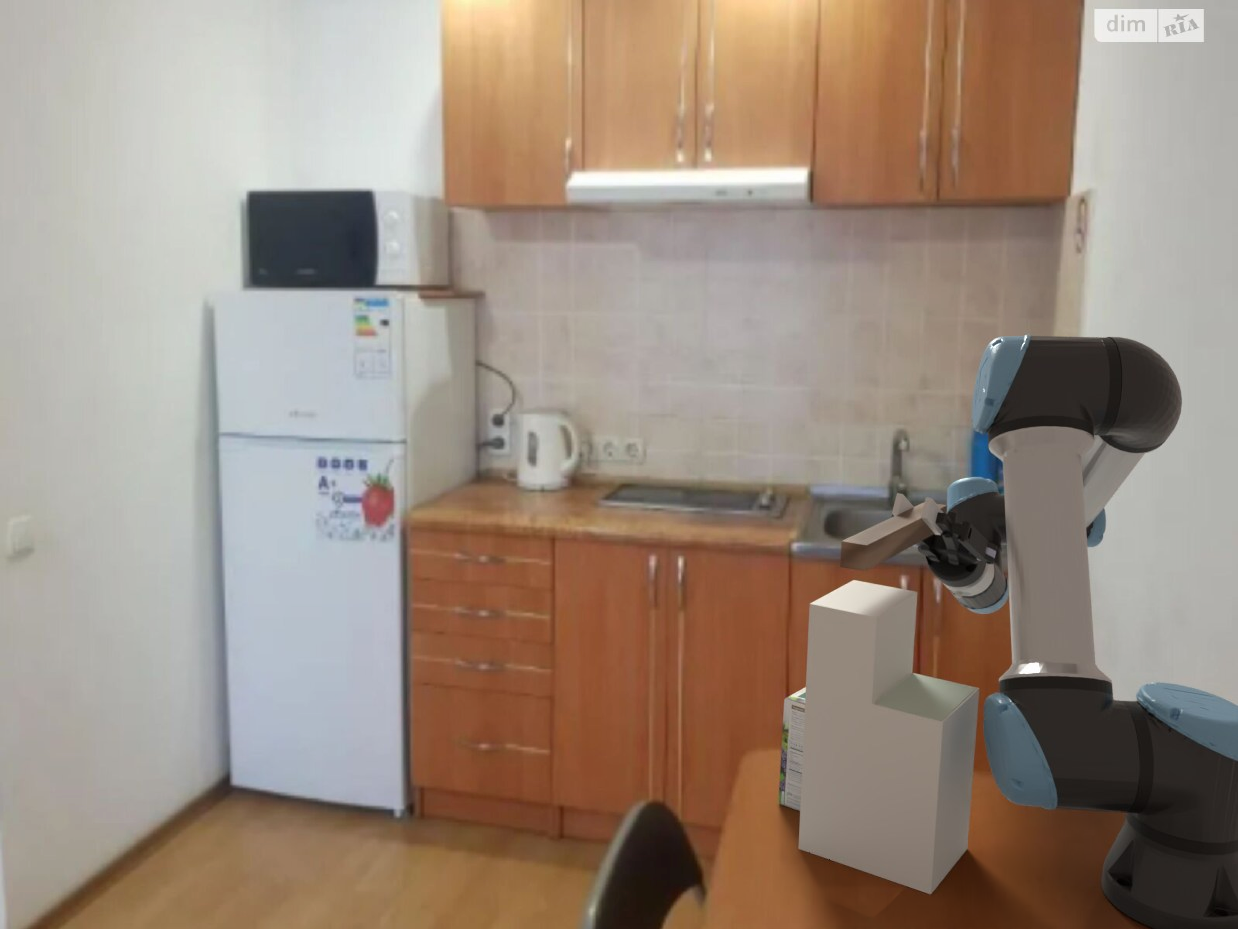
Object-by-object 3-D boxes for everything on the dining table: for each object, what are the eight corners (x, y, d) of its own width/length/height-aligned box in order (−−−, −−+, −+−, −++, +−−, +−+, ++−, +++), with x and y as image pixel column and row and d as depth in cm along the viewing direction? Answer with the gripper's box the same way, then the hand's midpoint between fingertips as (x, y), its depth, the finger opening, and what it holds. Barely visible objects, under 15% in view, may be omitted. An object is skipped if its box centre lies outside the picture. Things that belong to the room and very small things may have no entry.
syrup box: (800, 788, 146) (805, 683, 144) (840, 802, 143) (846, 695, 140) (777, 804, 142) (781, 696, 139) (818, 819, 138) (823, 708, 136)
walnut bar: (945, 527, 145) (947, 505, 144) (865, 571, 124) (866, 545, 123) (923, 524, 146) (924, 501, 146) (840, 567, 125) (841, 541, 125)
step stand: (967, 849, 132) (985, 604, 126) (930, 894, 122) (949, 632, 116) (841, 809, 141) (853, 580, 135) (798, 848, 131) (809, 603, 126)
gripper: (1012, 598, 151) (969, 544, 132) (898, 578, 160) (843, 524, 141) (1024, 546, 153) (983, 485, 134) (911, 528, 162) (858, 469, 143)
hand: (911, 505), depth 138 cm, fingers closed on walnut bar, 3 cm apart
